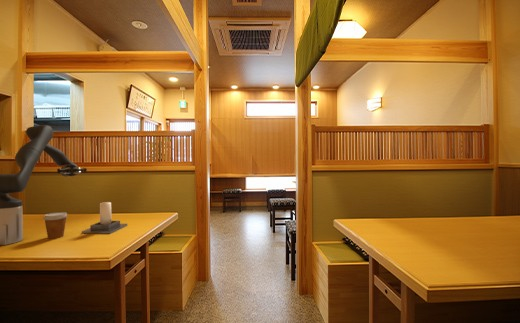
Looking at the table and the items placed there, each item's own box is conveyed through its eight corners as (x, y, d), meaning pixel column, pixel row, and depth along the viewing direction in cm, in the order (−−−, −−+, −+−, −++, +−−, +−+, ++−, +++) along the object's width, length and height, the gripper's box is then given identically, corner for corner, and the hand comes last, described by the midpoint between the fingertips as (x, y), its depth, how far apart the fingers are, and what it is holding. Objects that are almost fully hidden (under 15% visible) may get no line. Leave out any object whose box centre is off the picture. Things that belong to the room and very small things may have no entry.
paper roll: (107, 228, 135) (107, 203, 135) (97, 228, 135) (97, 203, 135) (113, 225, 141) (113, 202, 141) (104, 225, 141) (104, 201, 141)
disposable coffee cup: (72, 234, 129) (72, 212, 129) (55, 240, 119) (55, 216, 119) (56, 233, 130) (56, 211, 130) (38, 239, 120) (38, 215, 120)
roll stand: (110, 233, 130) (110, 226, 130) (81, 233, 130) (81, 226, 130) (127, 225, 146) (127, 219, 146) (101, 225, 146) (101, 219, 146)
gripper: (56, 164, 150) (57, 164, 138) (84, 164, 160) (87, 164, 148) (56, 176, 150) (57, 177, 138) (84, 175, 160) (87, 176, 148)
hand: (73, 171), depth 143 cm, fingers open, 8 cm apart
